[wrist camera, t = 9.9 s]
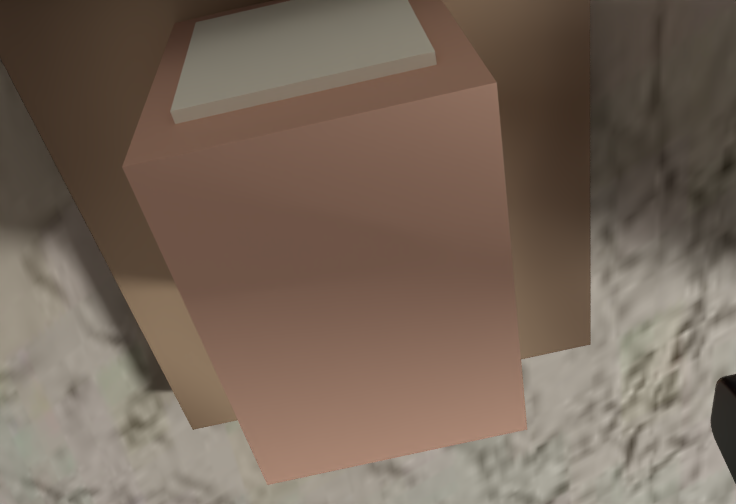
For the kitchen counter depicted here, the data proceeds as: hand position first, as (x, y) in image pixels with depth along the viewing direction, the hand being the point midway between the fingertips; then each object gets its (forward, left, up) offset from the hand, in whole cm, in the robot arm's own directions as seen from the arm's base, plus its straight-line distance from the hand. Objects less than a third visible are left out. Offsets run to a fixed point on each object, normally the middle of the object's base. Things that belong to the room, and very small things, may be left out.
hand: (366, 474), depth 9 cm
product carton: (0, 0, -9) cm, 9 cm away
